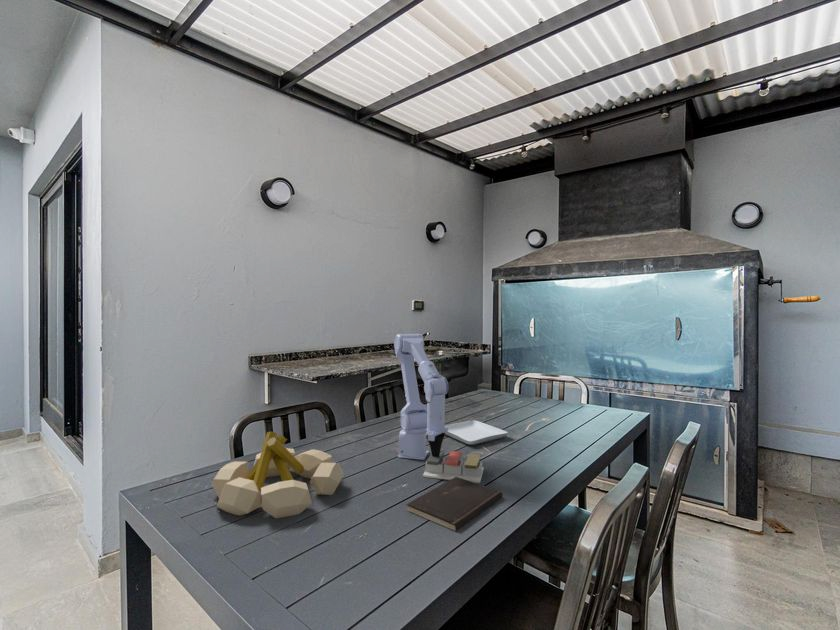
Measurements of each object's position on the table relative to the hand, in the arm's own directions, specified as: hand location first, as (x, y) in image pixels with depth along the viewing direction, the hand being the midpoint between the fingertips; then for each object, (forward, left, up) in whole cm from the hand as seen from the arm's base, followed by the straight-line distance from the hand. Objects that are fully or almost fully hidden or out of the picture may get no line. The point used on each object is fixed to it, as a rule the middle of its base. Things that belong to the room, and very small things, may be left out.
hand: (435, 456), depth 136 cm
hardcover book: (+10, -20, -6) cm, 24 cm away
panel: (+6, 0, -5) cm, 8 cm away
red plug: (+6, 0, -4) cm, 7 cm away
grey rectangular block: (0, 0, -4) cm, 4 cm away
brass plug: (+12, 0, -4) cm, 13 cm away
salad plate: (+7, +39, -6) cm, 40 cm away
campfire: (-41, -26, -5) cm, 49 cm away
